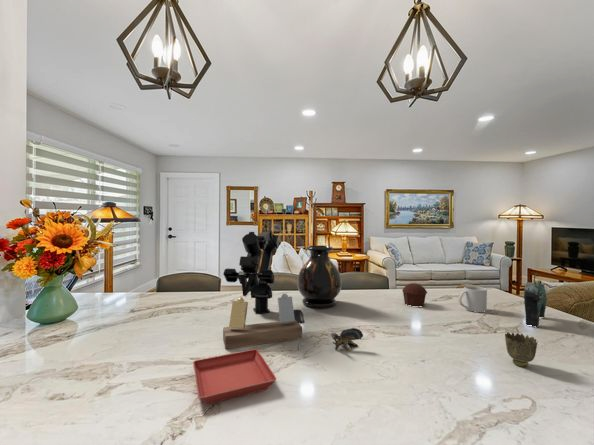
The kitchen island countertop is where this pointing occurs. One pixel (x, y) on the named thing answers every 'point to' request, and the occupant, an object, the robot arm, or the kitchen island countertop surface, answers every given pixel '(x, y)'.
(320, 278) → the amphora vase
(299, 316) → the phone
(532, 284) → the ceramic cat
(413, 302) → the muffin
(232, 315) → the brass lever
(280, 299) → the slate lever
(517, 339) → the cup
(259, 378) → the plant saucer
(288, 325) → the walnut panel
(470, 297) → the mug
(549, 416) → the kitchen island countertop surface
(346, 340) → the eagle figurine
